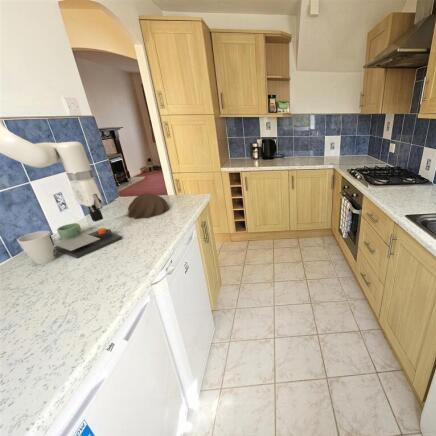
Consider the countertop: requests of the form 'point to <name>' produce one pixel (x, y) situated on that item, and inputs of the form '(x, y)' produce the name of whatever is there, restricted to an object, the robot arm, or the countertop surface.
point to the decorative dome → (147, 206)
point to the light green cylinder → (69, 231)
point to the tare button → (101, 231)
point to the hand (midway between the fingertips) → (98, 219)
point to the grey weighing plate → (76, 241)
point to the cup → (38, 246)
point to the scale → (93, 244)
